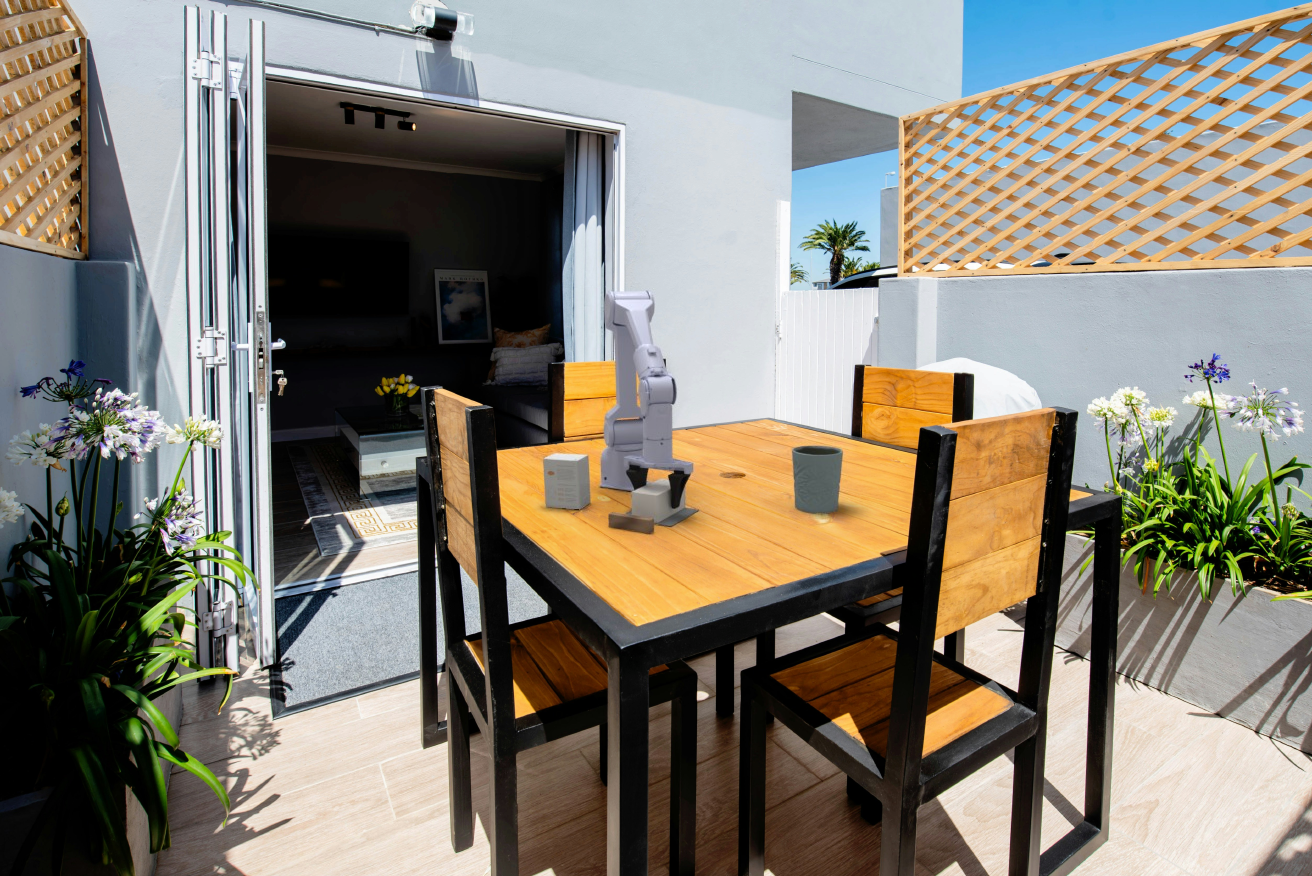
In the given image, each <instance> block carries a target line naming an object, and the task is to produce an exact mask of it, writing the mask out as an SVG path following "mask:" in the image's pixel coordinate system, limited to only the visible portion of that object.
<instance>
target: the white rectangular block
mask: <svg viewBox="0 0 1312 876" xmlns="http://www.w3.org/2000/svg"><path fill="white" fill-rule="evenodd" d="M630 492H631V493H630V496H631V502H630V503H631V510H632V515H635V516H642V517H648V518H654V523H658V522H660V521H662V520H664V519H666V518H667V517H669V516H671V515H673V514H674V513H676V512H678V511H680V510H682V509H683V508H687V507H686V487H685V488H684V490H683V493H682V497H681V501H680V506H679V507H678V508H676V509H672V507H671V489H670V483H669V479H668V478H667V479H666V478H659V479H657V480H655V481H651V483H650V484H648V485H646V486H643V487H641V488H639V489H637V490H634V491H630Z"/></svg>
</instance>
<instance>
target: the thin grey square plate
mask: <svg viewBox="0 0 1312 876" xmlns="http://www.w3.org/2000/svg"><path fill="white" fill-rule="evenodd" d="M699 511H700V509H697V508H692V507H691V508H690V507H686V508H683V509H682V510H680V511H678V512H676V513H674V514H673V515H671V516H669V517H667V518H666V519H664V520H662V521H660V522H658V523H654V525H657V526H661V527H662V526H663V527H669V528H671V527H673V526H676V525H677V524H678V523H681V522H682V521H684V520H686V519H687V518H689V517H690V516H692V515H694V514H695V513H698V512H699ZM624 514H629V515H632V509H631V510H629V511H626V512H624Z"/></svg>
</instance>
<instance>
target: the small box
mask: <svg viewBox="0 0 1312 876" xmlns="http://www.w3.org/2000/svg"><path fill="white" fill-rule="evenodd" d="M589 459H590V458H589V454H578V453H577V454H576V453H561V452H560V453H558V452H555V453H552V454H550V455H547V456H546V457H543V459H542V463H543V467H542V468H543V483H544V498H545V499H544V503H545V508H550V507H555V508H554V509H562V508H566V509H565V510H574V509H579V510H578V511H580V510H582V509H584V508H585V507H586V506H588V505H589V504H591V502H592V501H591V480H590V477H591V476H590V462H589V461H590V460H589Z"/></svg>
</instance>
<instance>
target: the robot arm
mask: <svg viewBox="0 0 1312 876" xmlns="http://www.w3.org/2000/svg"><path fill="white" fill-rule="evenodd" d="M655 307H656V306H655V297H654V294H653V293H652V292H651V290H645V291H643V290H641V291H639V290H638V291H637V290H635V291H633V290H632V291H631V290H630V291H613V290H608V291H607V293H605V296H604V303H603V309H604V311H603V312H604V324H605V329H606V330H609V331H611V332H612V336H613V343H614V346H613V347H614V366H615V367H614V372H615V397H616V398H615V401H616V404H615V405H614V406H613V407H612V408H610V409H609V410H608V411H607V412H606V413H605V415H604V424H603V439H604V443H605V445H606V447H605V448H603V450H602V452H601V454H600V483H599V487H602V488H606V489H607V488H609V489H616V490H621V491H630V492H632V491H634V490H637V489H639V488H641V487H643V486H646V485H648V484H650V483H652V481H649V480H648V474H649V470H659V471H667V472H668V471H669V472H672V473H669V474H667V479H668V480H669V483H670V489H671V507H672V509H676V508H678V507H679V506H680V501H681V497H682V493H683V490H684V488H685V489H686V485H687V483H688V480H689V478H690V477H691V475H692V473H694V462H693V461H686V460H683V459H677V458H673V457H674V456H673V449H674V447H673V405H675V404H676V401H677V397H678V392H677V391H678V389H677V383H676V378H675V377H674V375H673V374H672V373H671V371H668V370H667V367H666V364H665V361H664V358H663V353H662V351H661V349H660V347H658V346H657V345H654V339H653V334H652V330H651V329H652V328H651V324H650V323H652V319H653V316H654V314H655ZM637 379H638V381H637ZM637 383H638V384H637ZM638 400H639V405H638Z"/></svg>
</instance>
